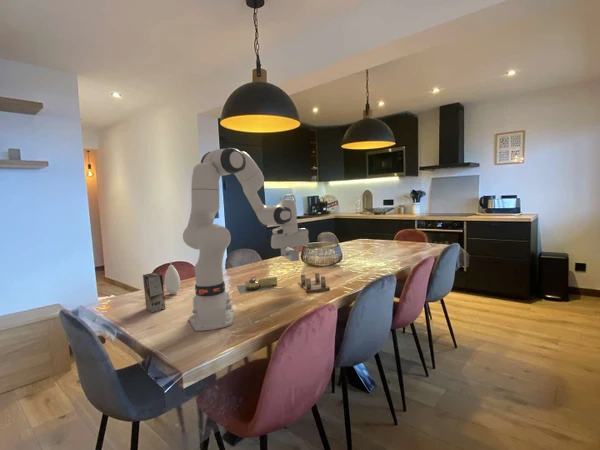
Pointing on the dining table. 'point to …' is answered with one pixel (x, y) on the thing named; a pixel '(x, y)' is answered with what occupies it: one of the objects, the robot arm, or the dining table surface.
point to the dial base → (243, 289)
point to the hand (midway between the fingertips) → (291, 255)
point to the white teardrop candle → (172, 280)
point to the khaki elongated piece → (261, 282)
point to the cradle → (314, 283)
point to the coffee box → (154, 291)
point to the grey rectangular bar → (291, 254)
